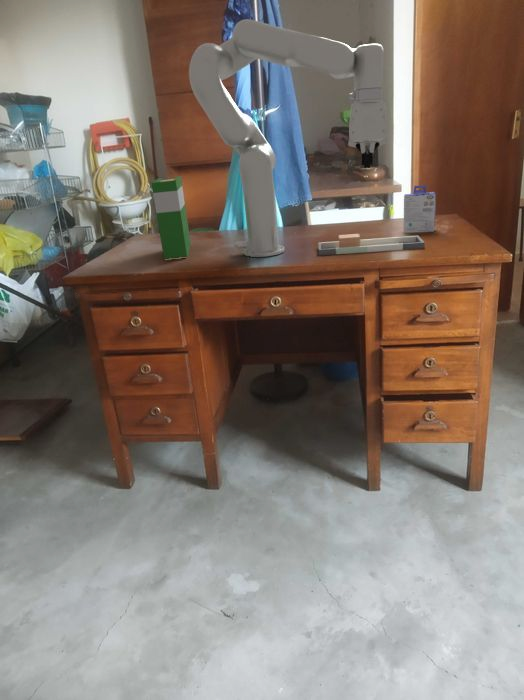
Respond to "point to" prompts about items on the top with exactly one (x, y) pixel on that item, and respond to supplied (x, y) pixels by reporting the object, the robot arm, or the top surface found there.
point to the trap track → (373, 245)
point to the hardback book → (171, 217)
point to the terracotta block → (349, 240)
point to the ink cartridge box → (419, 211)
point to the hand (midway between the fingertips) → (366, 167)
